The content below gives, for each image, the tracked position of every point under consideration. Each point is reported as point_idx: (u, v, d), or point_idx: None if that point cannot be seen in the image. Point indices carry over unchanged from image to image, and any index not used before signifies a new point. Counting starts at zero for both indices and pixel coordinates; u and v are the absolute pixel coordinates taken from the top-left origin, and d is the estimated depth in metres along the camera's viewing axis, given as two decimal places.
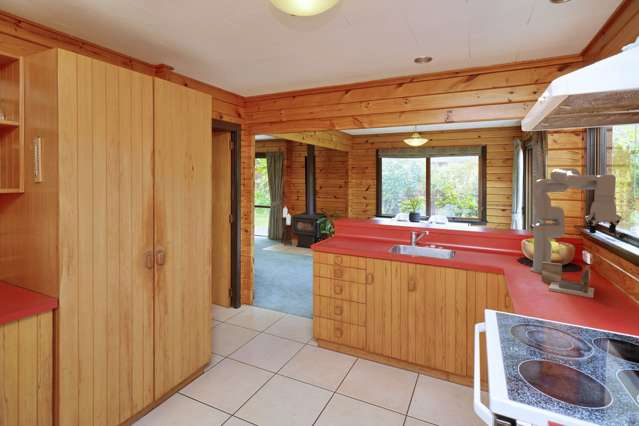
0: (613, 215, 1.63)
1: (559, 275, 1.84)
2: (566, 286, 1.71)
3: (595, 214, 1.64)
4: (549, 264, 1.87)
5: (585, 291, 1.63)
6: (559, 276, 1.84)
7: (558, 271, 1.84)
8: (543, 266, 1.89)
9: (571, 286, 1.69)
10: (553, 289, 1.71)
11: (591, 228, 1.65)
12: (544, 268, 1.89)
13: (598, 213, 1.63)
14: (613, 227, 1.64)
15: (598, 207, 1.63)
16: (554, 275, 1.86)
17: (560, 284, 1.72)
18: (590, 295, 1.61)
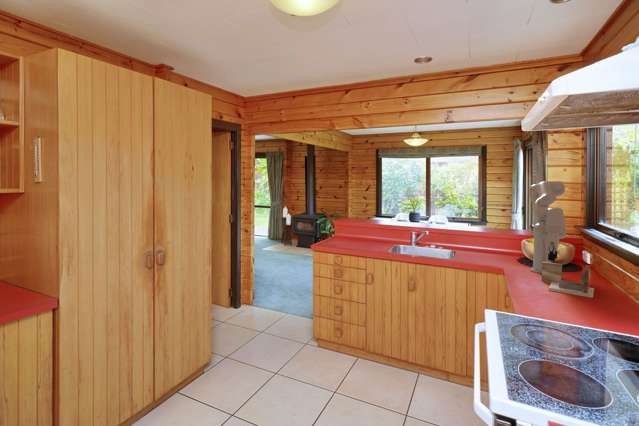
0: (558, 243, 1.87)
1: (559, 275, 1.84)
2: (566, 286, 1.71)
3: (554, 243, 1.82)
4: (549, 264, 1.87)
5: (585, 291, 1.63)
6: (559, 276, 1.84)
7: (558, 271, 1.84)
8: (543, 266, 1.89)
9: (571, 286, 1.69)
10: (553, 289, 1.71)
11: (552, 256, 1.82)
12: (544, 268, 1.89)
13: (557, 242, 1.82)
14: (555, 253, 1.89)
15: (556, 237, 1.82)
16: (554, 275, 1.86)
17: (560, 284, 1.72)
18: (590, 295, 1.61)
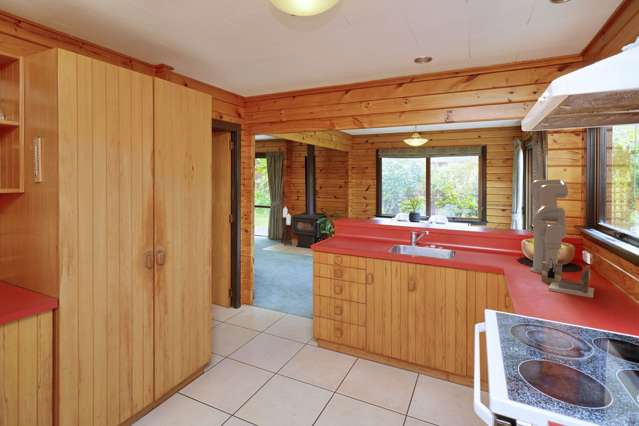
0: (557, 259, 1.88)
1: (559, 275, 1.84)
2: (566, 286, 1.71)
3: (553, 260, 1.83)
4: None
5: (585, 291, 1.63)
6: (559, 276, 1.84)
7: (558, 271, 1.84)
8: (543, 266, 1.89)
9: (571, 286, 1.69)
10: (553, 289, 1.71)
11: (551, 274, 1.86)
12: (544, 268, 1.89)
13: (556, 259, 1.83)
14: None
15: (555, 254, 1.83)
16: (555, 275, 1.86)
17: (560, 284, 1.72)
18: (590, 295, 1.61)
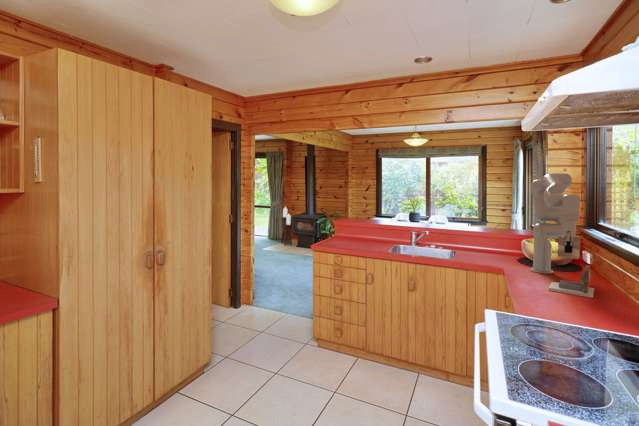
0: None
1: (577, 249, 1.70)
2: (566, 286, 1.71)
3: (571, 233, 1.69)
4: None
5: (585, 291, 1.63)
6: (577, 250, 1.70)
7: (577, 245, 1.70)
8: (559, 240, 1.75)
9: (571, 286, 1.69)
10: (553, 289, 1.71)
11: (569, 248, 1.71)
12: (561, 242, 1.74)
13: (573, 232, 1.69)
14: None
15: (573, 226, 1.68)
16: (572, 249, 1.71)
17: (560, 284, 1.72)
18: (590, 295, 1.61)
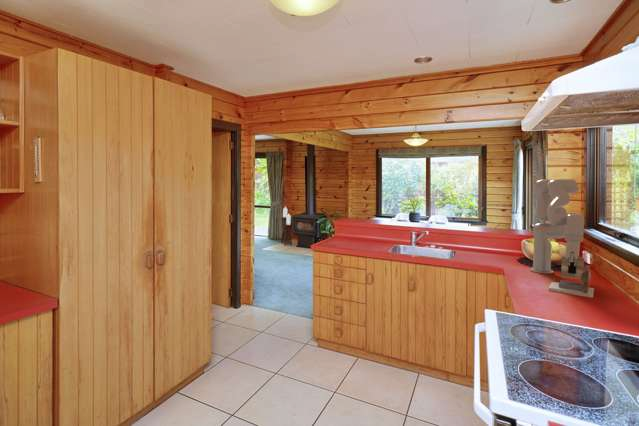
0: None
1: (581, 270, 1.67)
2: (566, 286, 1.71)
3: (575, 253, 1.66)
4: None
5: (585, 291, 1.63)
6: (581, 271, 1.67)
7: (580, 266, 1.67)
8: (563, 260, 1.72)
9: (571, 286, 1.69)
10: (553, 289, 1.71)
11: (572, 269, 1.69)
12: (564, 262, 1.72)
13: (577, 252, 1.66)
14: None
15: (577, 246, 1.66)
16: (576, 270, 1.69)
17: (560, 284, 1.72)
18: (590, 295, 1.61)
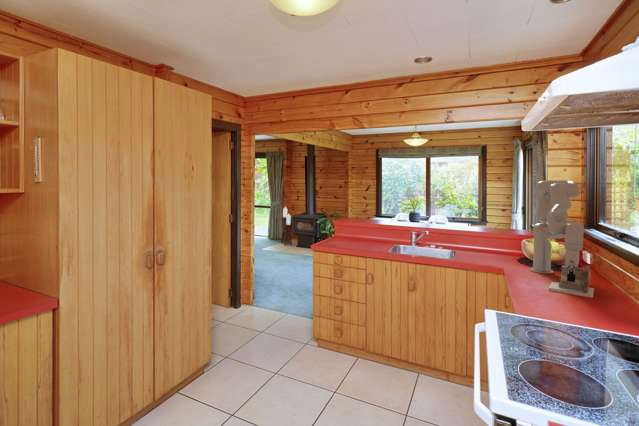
0: None
1: None
2: (566, 286, 1.71)
3: (574, 262, 1.66)
4: None
5: (585, 291, 1.63)
6: None
7: (580, 276, 1.68)
8: (562, 270, 1.73)
9: (571, 286, 1.69)
10: (553, 289, 1.71)
11: (571, 277, 1.67)
12: (564, 273, 1.72)
13: (577, 261, 1.66)
14: None
15: (577, 255, 1.66)
16: (575, 280, 1.69)
17: (560, 284, 1.72)
18: (590, 295, 1.61)
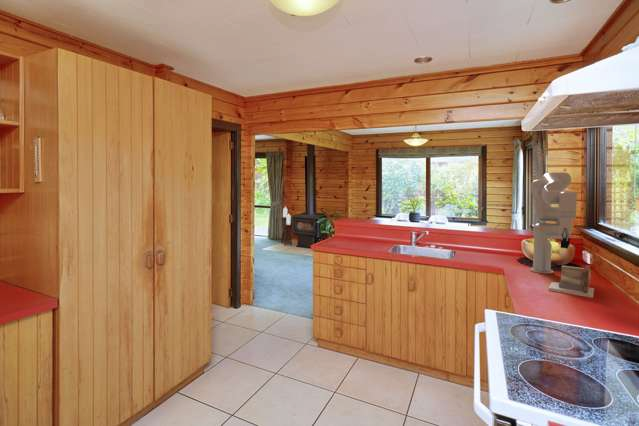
0: None
1: None
2: (566, 286, 1.71)
3: (568, 230, 1.69)
4: (569, 268, 1.71)
5: (585, 291, 1.63)
6: None
7: (580, 276, 1.68)
8: (562, 270, 1.73)
9: (571, 286, 1.69)
10: (553, 289, 1.71)
11: (565, 243, 1.70)
12: (564, 273, 1.72)
13: (570, 229, 1.69)
14: (568, 240, 1.77)
15: (570, 223, 1.69)
16: (575, 280, 1.69)
17: (560, 284, 1.72)
18: (590, 295, 1.61)
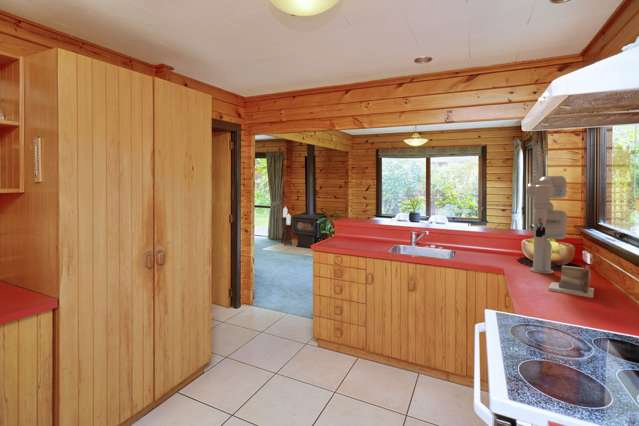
0: (546, 220, 1.89)
1: None
2: (566, 286, 1.71)
3: (542, 220, 1.84)
4: (569, 268, 1.71)
5: (585, 291, 1.63)
6: None
7: (580, 276, 1.68)
8: (562, 270, 1.73)
9: (571, 286, 1.69)
10: (553, 289, 1.71)
11: (539, 232, 1.84)
12: (564, 273, 1.72)
13: (544, 219, 1.84)
14: (543, 230, 1.91)
15: (544, 213, 1.83)
16: (575, 280, 1.69)
17: (560, 284, 1.72)
18: (590, 295, 1.61)
